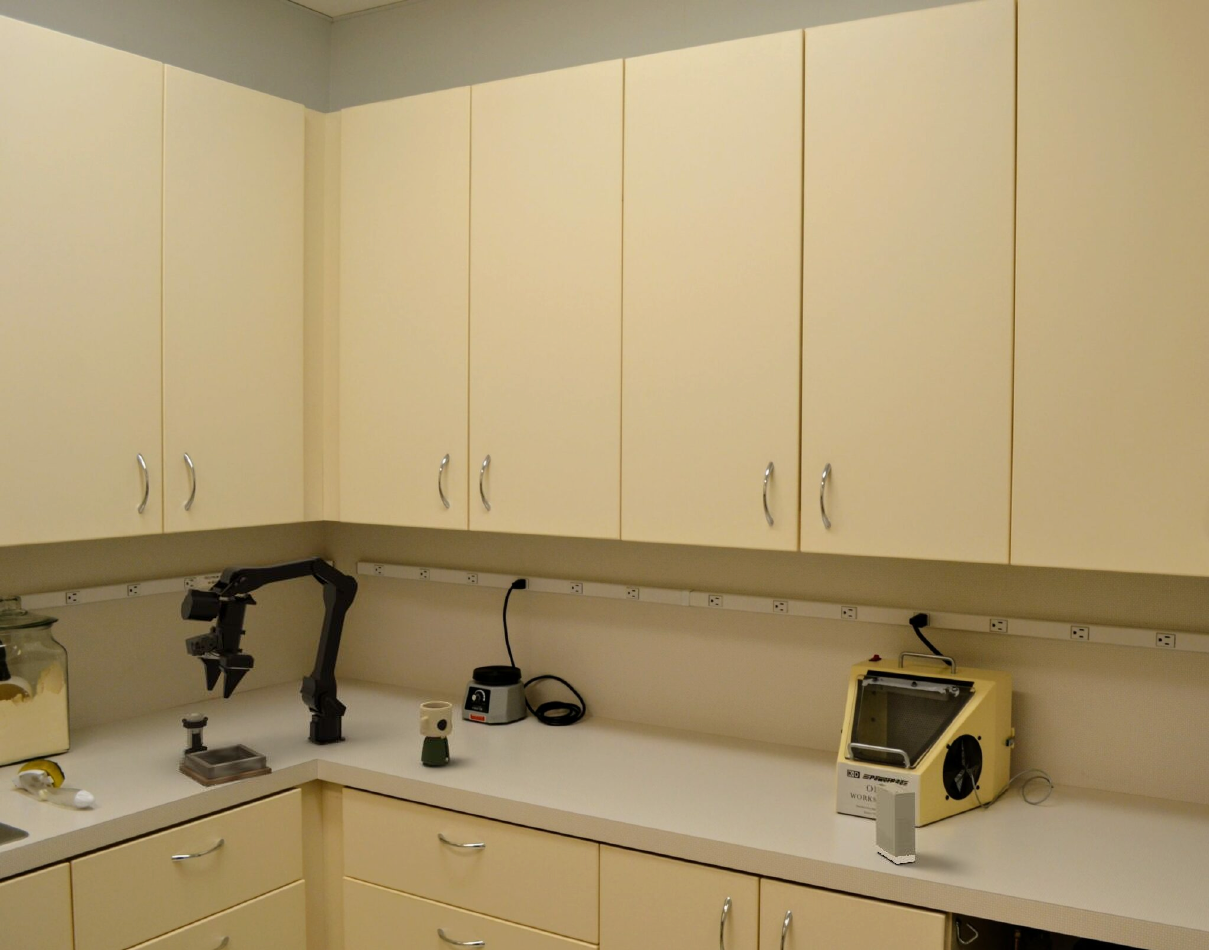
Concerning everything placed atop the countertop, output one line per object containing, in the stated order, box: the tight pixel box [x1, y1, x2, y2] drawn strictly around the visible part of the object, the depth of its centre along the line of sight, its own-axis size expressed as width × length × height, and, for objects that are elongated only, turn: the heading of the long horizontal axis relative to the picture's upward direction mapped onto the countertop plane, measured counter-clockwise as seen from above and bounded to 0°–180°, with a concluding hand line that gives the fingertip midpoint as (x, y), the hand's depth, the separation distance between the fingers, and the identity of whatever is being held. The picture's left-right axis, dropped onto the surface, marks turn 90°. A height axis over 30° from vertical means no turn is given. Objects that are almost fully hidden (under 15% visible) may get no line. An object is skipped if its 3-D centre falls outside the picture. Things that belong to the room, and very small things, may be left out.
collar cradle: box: [178, 743, 273, 787], centre depth 218 cm, size 14×14×4 cm
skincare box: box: [874, 781, 916, 857], centre depth 177 cm, size 6×4×12 cm
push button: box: [178, 712, 209, 763], centre depth 226 cm, size 7×5×10 cm
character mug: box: [419, 700, 453, 766], centre depth 226 cm, size 11×7×13 cm, turn 154°
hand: (217, 694), depth 226 cm, fingers open, 9 cm apart
